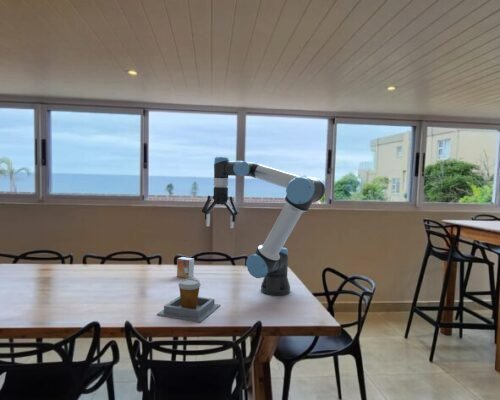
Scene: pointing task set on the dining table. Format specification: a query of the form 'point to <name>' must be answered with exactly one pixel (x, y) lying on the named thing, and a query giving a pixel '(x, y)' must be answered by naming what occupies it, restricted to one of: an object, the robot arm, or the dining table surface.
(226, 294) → the dining table surface
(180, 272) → the small box
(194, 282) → the disposable coffee cup
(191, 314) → the tray
